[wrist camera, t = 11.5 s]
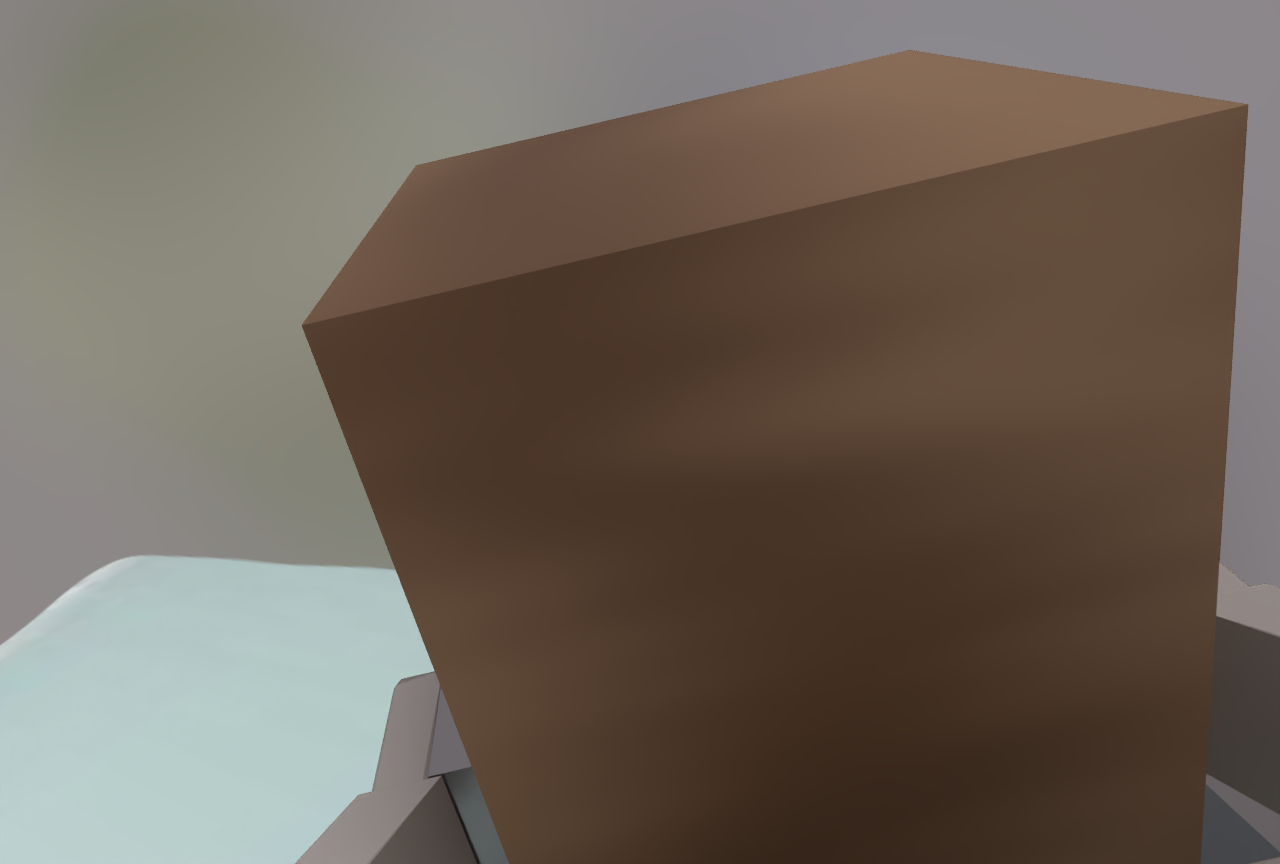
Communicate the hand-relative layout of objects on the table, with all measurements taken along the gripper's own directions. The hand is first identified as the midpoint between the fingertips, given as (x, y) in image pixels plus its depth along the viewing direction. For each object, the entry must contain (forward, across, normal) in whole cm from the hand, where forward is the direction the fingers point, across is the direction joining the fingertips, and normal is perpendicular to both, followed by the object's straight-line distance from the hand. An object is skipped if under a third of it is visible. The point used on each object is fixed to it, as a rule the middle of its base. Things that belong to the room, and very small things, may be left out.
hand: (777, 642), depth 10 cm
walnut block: (-1, 0, +6) cm, 7 cm away
